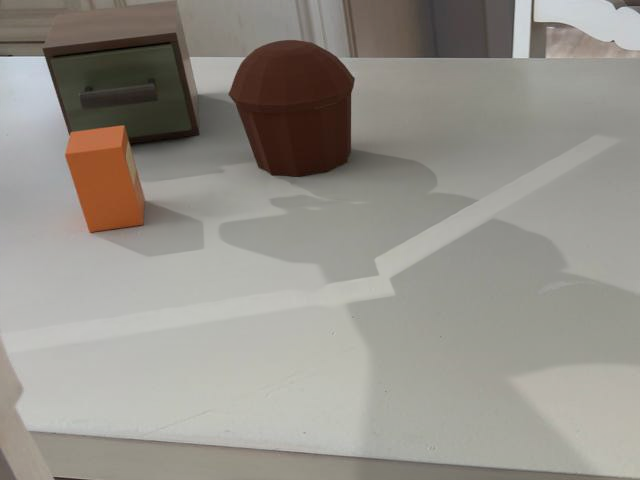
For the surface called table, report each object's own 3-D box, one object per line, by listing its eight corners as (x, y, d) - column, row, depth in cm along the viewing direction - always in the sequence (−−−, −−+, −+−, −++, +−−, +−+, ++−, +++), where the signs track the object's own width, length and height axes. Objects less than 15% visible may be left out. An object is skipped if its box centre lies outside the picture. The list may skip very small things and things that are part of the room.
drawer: (192, 143, 99) (171, 57, 94) (72, 159, 98) (45, 73, 93) (190, 91, 114) (173, 14, 109) (86, 104, 112) (63, 26, 107)
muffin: (389, 151, 97) (376, 36, 90) (308, 189, 90) (288, 68, 84) (300, 133, 103) (282, 24, 96) (218, 168, 96) (193, 53, 90)
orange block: (88, 232, 86) (63, 154, 81) (93, 207, 90) (69, 131, 86) (144, 225, 86) (122, 146, 82) (145, 200, 91) (125, 124, 86)
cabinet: (199, 134, 104) (176, 32, 98) (74, 151, 103) (41, 48, 96) (197, 93, 116) (176, -1, 110) (85, 107, 114) (57, 13, 108)
